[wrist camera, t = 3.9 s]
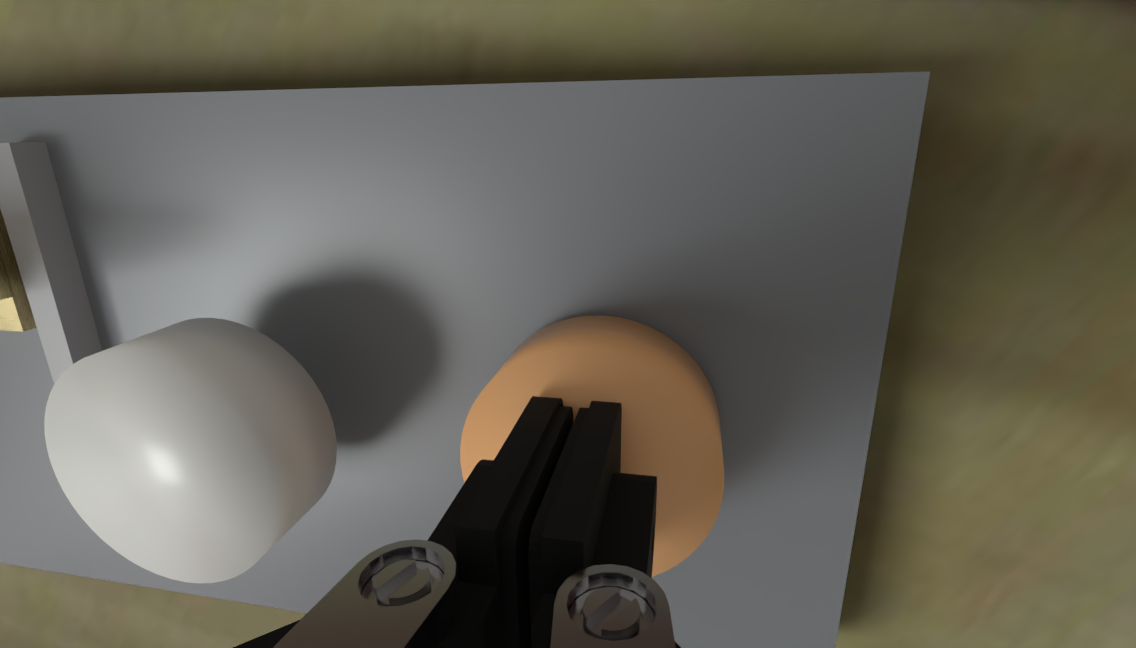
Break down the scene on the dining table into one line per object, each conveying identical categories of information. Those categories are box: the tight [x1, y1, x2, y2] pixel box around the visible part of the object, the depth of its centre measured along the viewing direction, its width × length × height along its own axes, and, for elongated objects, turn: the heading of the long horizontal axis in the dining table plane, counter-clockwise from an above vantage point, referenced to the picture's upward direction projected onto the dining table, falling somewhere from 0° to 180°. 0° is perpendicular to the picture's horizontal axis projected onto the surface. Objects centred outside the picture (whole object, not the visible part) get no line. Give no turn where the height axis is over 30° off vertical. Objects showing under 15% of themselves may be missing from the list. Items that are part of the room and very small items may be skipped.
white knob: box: [44, 318, 337, 583], centre depth 12 cm, size 5×5×2 cm
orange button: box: [460, 315, 724, 577], centre depth 12 cm, size 5×5×2 cm
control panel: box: [0, 71, 930, 648], centre depth 15 cm, size 27×14×3 cm, turn 91°
